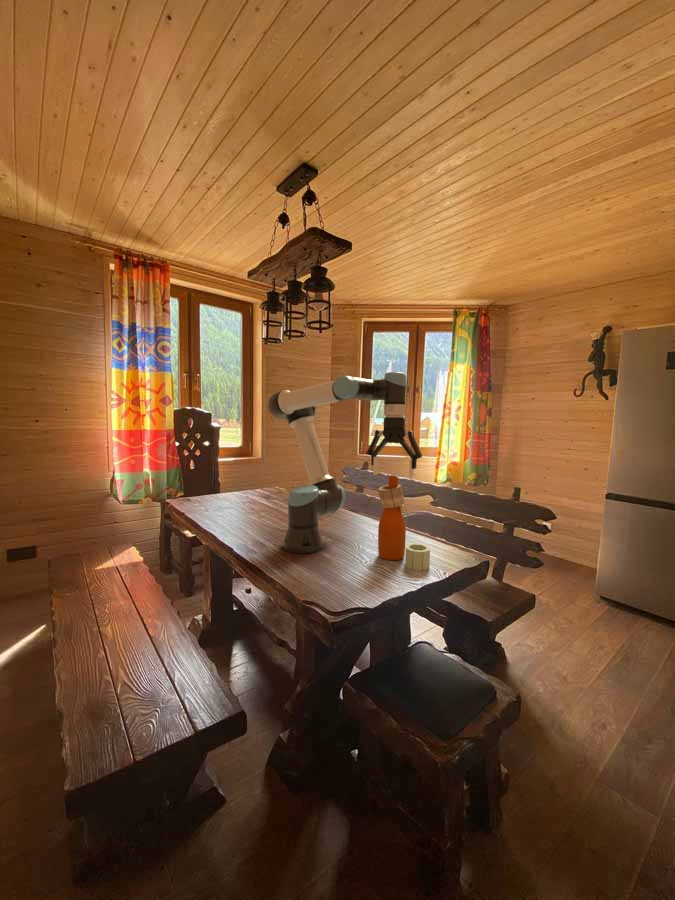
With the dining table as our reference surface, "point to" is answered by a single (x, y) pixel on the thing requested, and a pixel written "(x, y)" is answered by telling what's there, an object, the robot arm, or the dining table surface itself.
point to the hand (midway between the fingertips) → (392, 476)
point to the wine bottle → (392, 530)
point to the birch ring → (391, 496)
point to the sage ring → (417, 557)
